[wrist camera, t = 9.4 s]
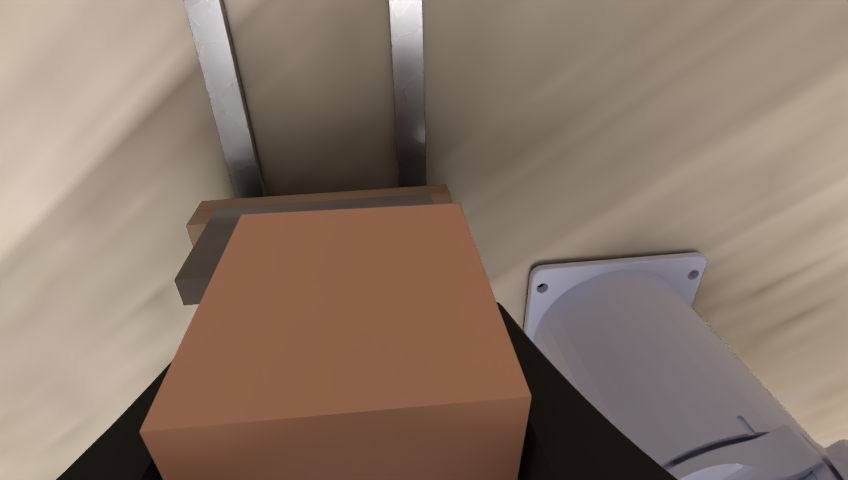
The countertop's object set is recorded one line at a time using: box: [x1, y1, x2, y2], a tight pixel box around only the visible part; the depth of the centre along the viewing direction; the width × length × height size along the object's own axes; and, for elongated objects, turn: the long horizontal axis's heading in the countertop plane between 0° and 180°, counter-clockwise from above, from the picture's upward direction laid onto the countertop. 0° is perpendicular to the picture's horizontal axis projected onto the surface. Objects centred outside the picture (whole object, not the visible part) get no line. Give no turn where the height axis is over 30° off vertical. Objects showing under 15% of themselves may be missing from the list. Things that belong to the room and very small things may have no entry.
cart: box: [175, 184, 453, 305], centre depth 17 cm, size 9×8×6 cm
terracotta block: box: [139, 203, 532, 480], centre depth 9 cm, size 4×4×5 cm
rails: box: [184, 0, 426, 199], centre depth 17 cm, size 13×7×1 cm, turn 1°
